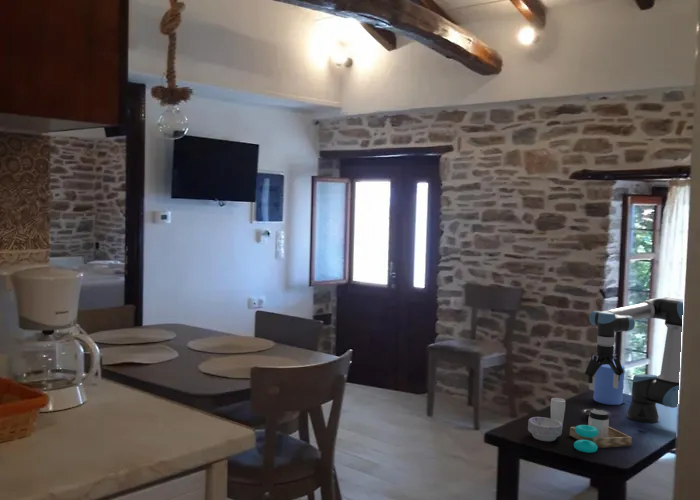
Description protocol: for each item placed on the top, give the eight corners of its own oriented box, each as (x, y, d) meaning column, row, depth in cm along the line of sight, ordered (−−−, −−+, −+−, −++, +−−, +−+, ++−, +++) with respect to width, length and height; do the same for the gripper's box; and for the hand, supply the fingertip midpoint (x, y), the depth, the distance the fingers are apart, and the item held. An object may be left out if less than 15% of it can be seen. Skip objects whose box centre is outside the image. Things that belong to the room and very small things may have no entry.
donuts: (575, 422, 305) (599, 426, 301) (574, 444, 306) (597, 448, 302) (574, 428, 296) (598, 432, 292) (572, 451, 297) (596, 455, 293)
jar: (598, 441, 308) (600, 415, 308) (584, 436, 315) (585, 411, 314) (611, 438, 313) (612, 413, 312) (596, 433, 320) (598, 408, 319)
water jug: (619, 407, 374) (622, 357, 373) (590, 401, 382) (593, 353, 381) (625, 401, 387) (628, 353, 386) (596, 396, 395) (599, 349, 394)
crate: (605, 433, 324) (606, 425, 324) (631, 445, 307) (631, 437, 307) (569, 435, 319) (570, 426, 319) (593, 448, 302) (594, 439, 301)
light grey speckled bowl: (557, 446, 302) (558, 428, 302) (523, 439, 310) (524, 422, 309) (564, 437, 316) (565, 420, 315) (532, 431, 323) (533, 414, 323)
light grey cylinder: (547, 427, 329) (549, 397, 329) (561, 428, 329) (563, 398, 328) (551, 432, 323) (553, 401, 322) (565, 432, 322) (567, 401, 322)
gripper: (621, 342, 328) (619, 385, 329) (578, 344, 320) (576, 388, 321) (632, 345, 321) (630, 389, 322) (588, 347, 313) (586, 392, 314)
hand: (603, 388), depth 322 cm, fingers open, 13 cm apart
